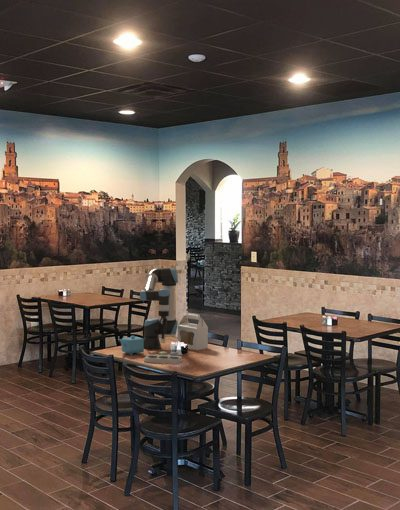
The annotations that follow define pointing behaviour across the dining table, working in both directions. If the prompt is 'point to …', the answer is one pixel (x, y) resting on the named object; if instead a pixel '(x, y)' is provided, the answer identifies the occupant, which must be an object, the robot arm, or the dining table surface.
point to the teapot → (132, 345)
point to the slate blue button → (173, 353)
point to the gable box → (198, 329)
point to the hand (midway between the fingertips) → (163, 342)
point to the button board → (163, 359)
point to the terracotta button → (152, 352)
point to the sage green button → (162, 353)
